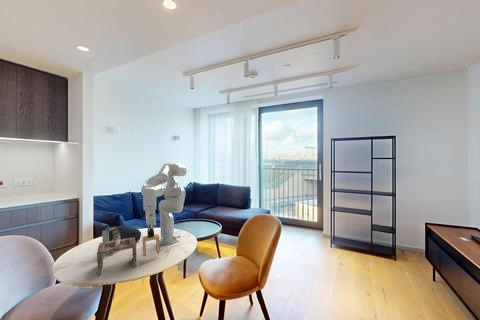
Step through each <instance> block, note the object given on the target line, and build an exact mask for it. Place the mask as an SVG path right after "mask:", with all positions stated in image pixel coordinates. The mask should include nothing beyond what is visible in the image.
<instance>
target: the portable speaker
mask: <svg viewBox="0 0 480 320" xmlns="http://www.w3.org/2000/svg"><path fill="white" fill-rule="evenodd" d="M117 227H120V240H121V239H127V238H133V237H135V241H136V243H137V242H139V241H140V239H141V237H142V232H141V231H140V229H138V228H136V227H132V226H129V225H124V224H123V225H119V226H117Z"/></svg>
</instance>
